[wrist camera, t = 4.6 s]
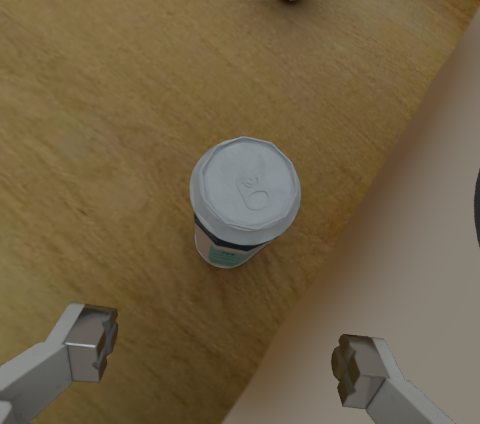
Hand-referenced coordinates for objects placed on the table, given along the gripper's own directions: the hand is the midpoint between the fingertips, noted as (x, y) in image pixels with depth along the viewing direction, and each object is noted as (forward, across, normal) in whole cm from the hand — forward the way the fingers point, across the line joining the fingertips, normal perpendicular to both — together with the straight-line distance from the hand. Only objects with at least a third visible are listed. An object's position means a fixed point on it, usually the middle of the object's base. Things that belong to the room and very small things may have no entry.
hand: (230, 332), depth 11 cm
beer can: (+12, 0, +4) cm, 13 cm away
